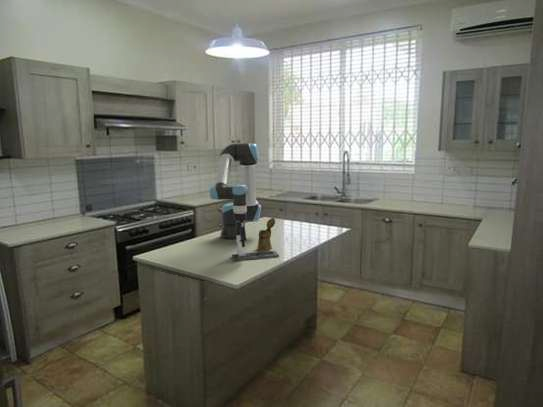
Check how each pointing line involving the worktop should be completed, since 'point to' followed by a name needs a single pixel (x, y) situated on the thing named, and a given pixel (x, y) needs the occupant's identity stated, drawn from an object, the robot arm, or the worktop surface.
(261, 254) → the dark grey slotted board
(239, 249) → the steel peg
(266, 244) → the wooden mug
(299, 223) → the worktop surface
